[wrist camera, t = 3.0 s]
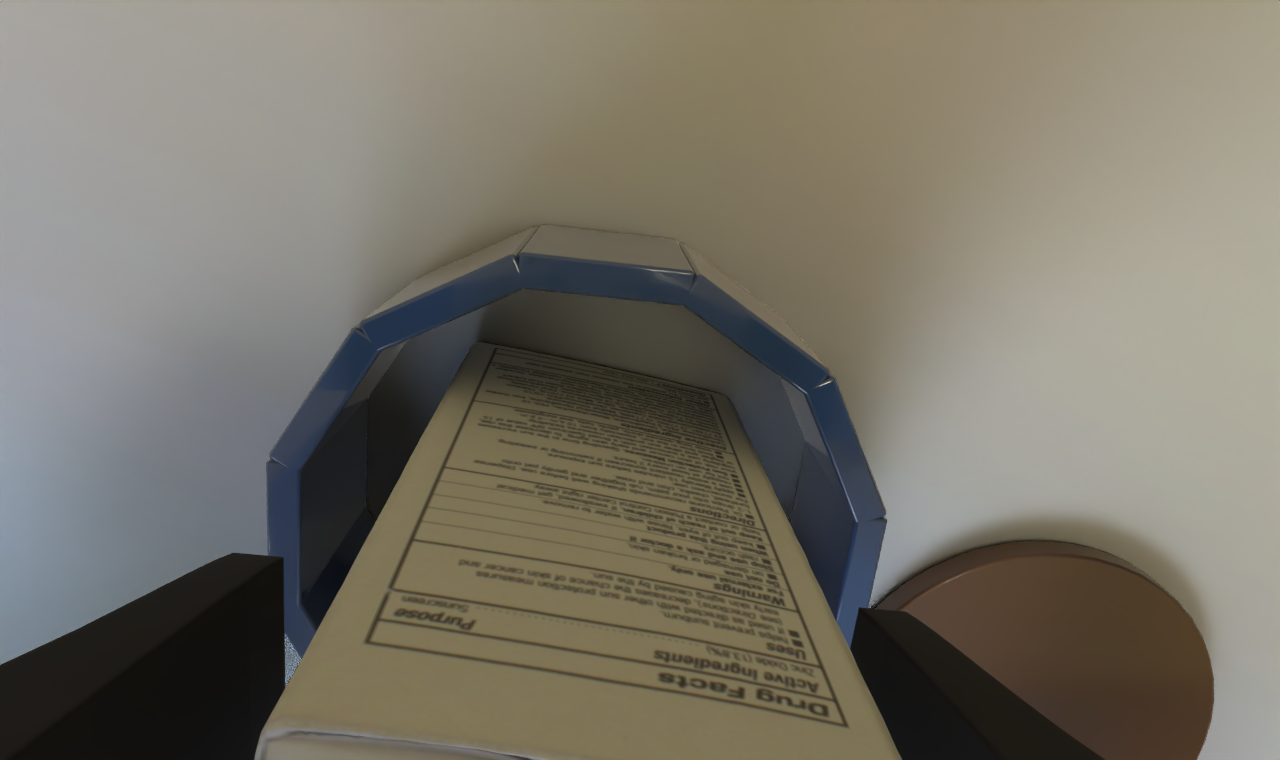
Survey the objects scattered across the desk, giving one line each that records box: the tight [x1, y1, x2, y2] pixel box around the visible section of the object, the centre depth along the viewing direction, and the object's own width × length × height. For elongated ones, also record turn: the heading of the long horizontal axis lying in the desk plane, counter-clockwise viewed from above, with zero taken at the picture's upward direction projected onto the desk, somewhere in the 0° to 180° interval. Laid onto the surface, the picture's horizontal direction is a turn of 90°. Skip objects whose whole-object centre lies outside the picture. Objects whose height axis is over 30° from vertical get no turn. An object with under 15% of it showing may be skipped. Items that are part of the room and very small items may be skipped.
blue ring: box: [266, 224, 887, 659], centre depth 14 cm, size 9×9×4 cm
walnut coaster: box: [875, 541, 1214, 760], centre depth 17 cm, size 8×8×1 cm
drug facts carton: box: [254, 343, 902, 760], centre depth 11 cm, size 5×4×10 cm
